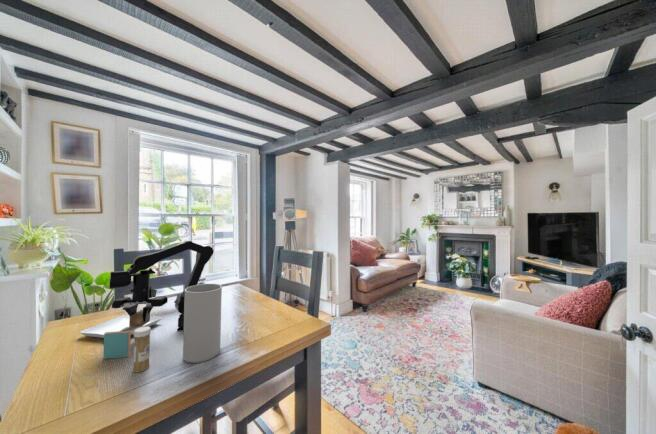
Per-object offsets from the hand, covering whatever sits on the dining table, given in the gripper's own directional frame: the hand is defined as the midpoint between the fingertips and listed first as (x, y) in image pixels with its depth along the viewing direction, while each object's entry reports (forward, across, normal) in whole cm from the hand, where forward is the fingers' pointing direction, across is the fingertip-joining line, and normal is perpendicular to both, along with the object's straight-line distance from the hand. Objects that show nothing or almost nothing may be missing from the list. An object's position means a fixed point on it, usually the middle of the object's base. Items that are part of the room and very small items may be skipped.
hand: (140, 322), depth 104 cm
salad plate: (+8, +12, -10) cm, 17 cm away
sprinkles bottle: (+7, -13, +23) cm, 27 cm away
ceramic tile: (+7, 0, +14) cm, 16 cm away
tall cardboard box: (+1, 0, +3) cm, 3 cm away
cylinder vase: (+7, -30, +16) cm, 35 cm away
